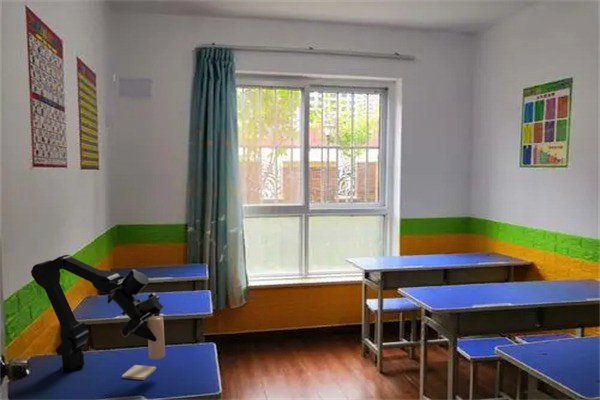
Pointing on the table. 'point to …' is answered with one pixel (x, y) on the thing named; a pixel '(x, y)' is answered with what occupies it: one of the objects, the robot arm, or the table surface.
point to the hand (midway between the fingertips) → (160, 337)
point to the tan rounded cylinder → (158, 330)
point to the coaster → (139, 372)
